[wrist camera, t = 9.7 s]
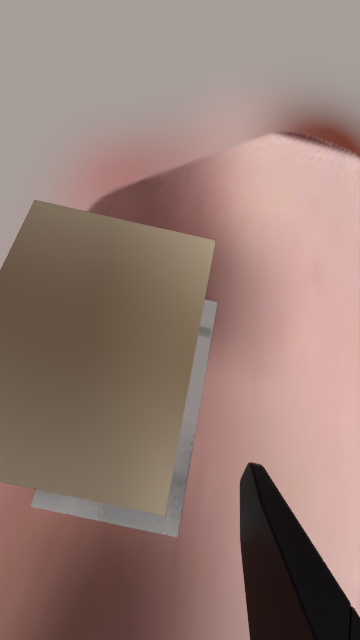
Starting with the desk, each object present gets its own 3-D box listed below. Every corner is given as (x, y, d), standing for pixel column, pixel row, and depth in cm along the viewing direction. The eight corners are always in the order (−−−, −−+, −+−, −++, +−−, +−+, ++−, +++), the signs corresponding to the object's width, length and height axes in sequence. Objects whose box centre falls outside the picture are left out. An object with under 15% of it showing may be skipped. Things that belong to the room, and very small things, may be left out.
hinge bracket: (176, 529, 15) (185, 582, 11) (38, 500, 15) (-15, 541, 10) (214, 307, 20) (232, 275, 15) (109, 283, 20) (94, 244, 15)
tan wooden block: (157, 434, 16) (165, 516, 4) (99, 422, 16) (-94, 462, 4) (173, 360, 17) (215, 240, 5) (120, 349, 17) (34, 200, 5)
